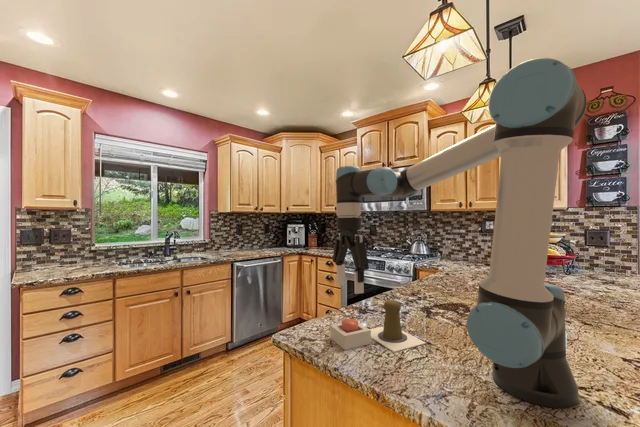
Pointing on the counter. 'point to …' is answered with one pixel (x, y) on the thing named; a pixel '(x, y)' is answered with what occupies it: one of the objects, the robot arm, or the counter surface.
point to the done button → (349, 325)
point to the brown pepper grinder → (392, 320)
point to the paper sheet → (396, 345)
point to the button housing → (350, 336)
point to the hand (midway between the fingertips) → (349, 289)
